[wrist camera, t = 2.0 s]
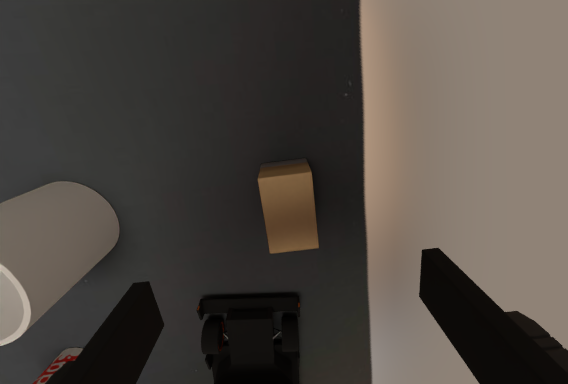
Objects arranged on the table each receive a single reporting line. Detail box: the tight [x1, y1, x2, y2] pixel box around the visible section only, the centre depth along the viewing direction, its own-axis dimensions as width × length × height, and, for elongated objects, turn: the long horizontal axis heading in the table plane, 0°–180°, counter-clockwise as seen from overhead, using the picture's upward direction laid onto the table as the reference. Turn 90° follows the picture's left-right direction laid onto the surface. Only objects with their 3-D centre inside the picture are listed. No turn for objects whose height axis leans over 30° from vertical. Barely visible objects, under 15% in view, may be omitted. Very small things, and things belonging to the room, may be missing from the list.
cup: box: [0, 181, 119, 346], centre depth 21 cm, size 8×12×10 cm
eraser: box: [258, 158, 319, 254], centre depth 23 cm, size 6×4×4 cm, turn 7°
